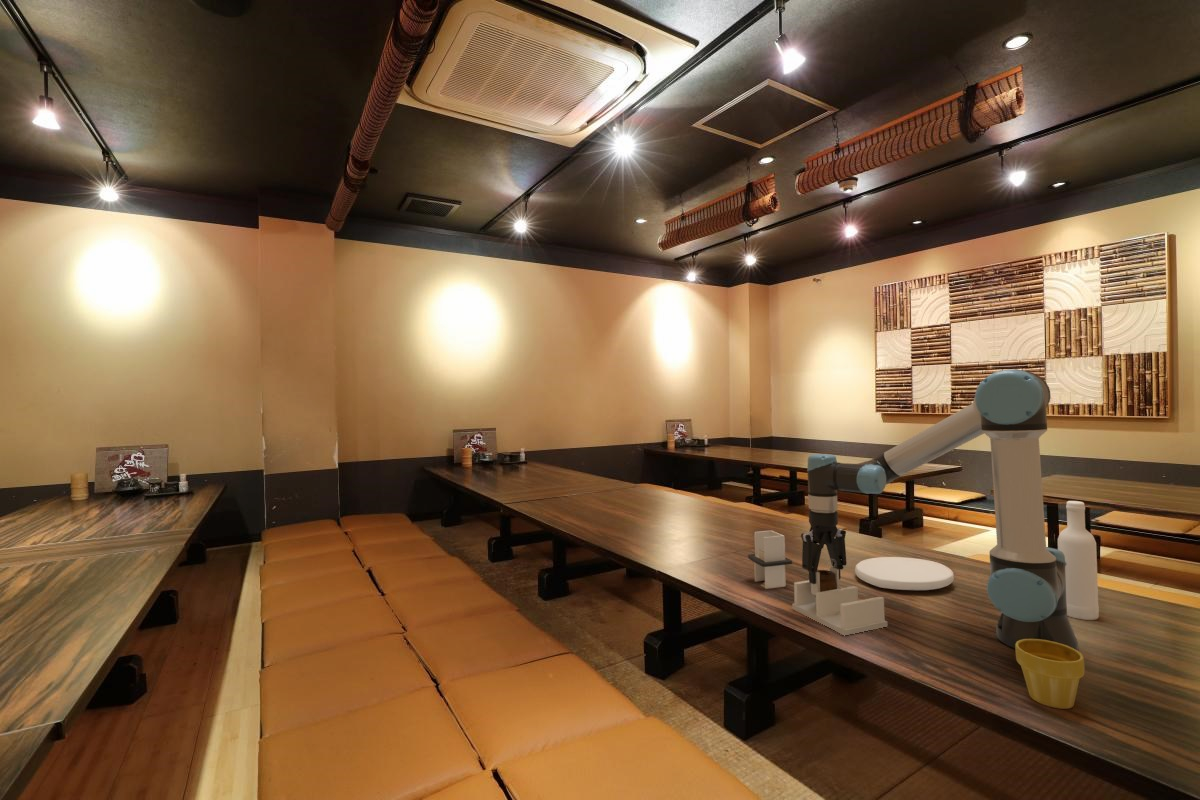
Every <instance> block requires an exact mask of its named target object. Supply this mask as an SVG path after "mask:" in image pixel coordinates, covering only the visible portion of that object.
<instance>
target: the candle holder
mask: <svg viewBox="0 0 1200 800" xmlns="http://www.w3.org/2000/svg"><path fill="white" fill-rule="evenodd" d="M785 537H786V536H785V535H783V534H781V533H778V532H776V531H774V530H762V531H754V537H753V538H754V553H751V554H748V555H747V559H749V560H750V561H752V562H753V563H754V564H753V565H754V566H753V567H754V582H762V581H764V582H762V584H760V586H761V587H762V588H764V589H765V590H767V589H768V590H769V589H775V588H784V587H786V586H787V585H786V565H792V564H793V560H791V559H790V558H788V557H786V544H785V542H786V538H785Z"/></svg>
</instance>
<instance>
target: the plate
mask: <svg viewBox="0 0 1200 800" xmlns="http://www.w3.org/2000/svg"><path fill="white" fill-rule="evenodd" d="M854 574H855V575H856V576H857V578H859V579H860V580H862V581H863V582H865V583H867V584H870V585H873V586H875V587H878V588H883V589H890V590H901V591H929V590H931V591H932V590H937V589H942V588H945V587H948V586H949V585H951V584H952V583H953V582H954V579H955V575H954V572H953V570H951V568H950V567H948V566H947V565H944V564H942V563H940V562H936V561H932V560H929V559H923V558H913V557H906V556H905V557H904V556H903V557H902V556H880V557H872V558H866V559H863V560H861V561H859V562H858V563H857V564H856V565H855V567H854Z"/></svg>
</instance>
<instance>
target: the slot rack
mask: <svg viewBox="0 0 1200 800" xmlns="http://www.w3.org/2000/svg"><path fill="white" fill-rule="evenodd" d="M858 591H859V590H858V586H854V585H852V586H846V587H841V588H840V587H839V589H834V590H829V591H823V592H817V593H816V597H815V595H813V594H811V583H810V582H809V579H808V580H802V581H797V582H796V581H795V582H793V593H794V597H793V599H794V602H793V603H792V604H791V605H792V607H791V608H792V610H793V611H795V612H797V613H799V614H801V615H803V616H805V617H806V616H807V617H806V618H808V617H809V618H808V619H810V618H811V619H810V620H812V619H813V621H814V620H815V622H816V621H817V622H816V623H818V622H819V623H818V624H820V623H821V624H820V625H822V624H823V625H822V626H824V625H825V626H827V627H829V628H831V629H833V630H835V631H837V632H839V633H840V634H839V633H838V634H839V635H841V634H842V635H844V636H843V637H846V636H845V635H849V634H854V635H856V634H855V633H859V632H863V633H865V632H864V631H868V630H873V629H878V628H882V629H884V628H883V627H887V626H889V625H888V621H887V620H886V619H885V597H882V596H876V597H871V598H870V597H869V598H863V599H860V600H859V594H858V593H859V592H858ZM825 626H824V627H825ZM827 627H826V628H827ZM829 628H828V629H829ZM887 628H888V627H887ZM831 629H830V630H831ZM833 630H832V631H833ZM878 630H879V629H878ZM835 631H834V632H835ZM873 631H874V630H873ZM837 632H836V633H837ZM868 632H869V631H868ZM859 634H860V633H859ZM842 635H841V636H842ZM849 636H850V635H849Z"/></svg>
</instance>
